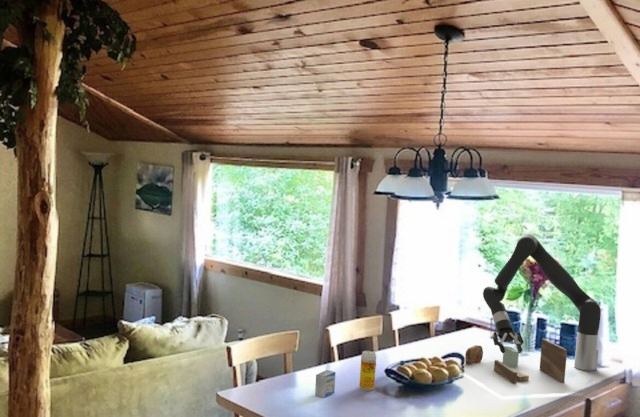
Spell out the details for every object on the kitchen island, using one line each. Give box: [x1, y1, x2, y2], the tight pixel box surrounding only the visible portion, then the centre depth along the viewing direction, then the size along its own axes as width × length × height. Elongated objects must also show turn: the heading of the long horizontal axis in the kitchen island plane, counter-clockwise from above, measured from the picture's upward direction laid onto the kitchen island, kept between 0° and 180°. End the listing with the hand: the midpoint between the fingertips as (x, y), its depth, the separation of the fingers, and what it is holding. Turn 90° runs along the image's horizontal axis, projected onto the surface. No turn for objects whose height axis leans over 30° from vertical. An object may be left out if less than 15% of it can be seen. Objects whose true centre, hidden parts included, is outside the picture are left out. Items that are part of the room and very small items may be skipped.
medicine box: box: [314, 369, 336, 399], centre depth 265 cm, size 8×4×9 cm, turn 148°
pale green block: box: [502, 345, 520, 368], centre depth 319 cm, size 3×9×8 cm, turn 12°
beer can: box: [359, 350, 377, 392], centre depth 274 cm, size 6×6×15 cm
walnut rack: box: [493, 338, 568, 384], centre depth 300 cm, size 24×18×16 cm
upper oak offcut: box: [510, 367, 530, 382], centre depth 298 cm, size 5×12×2 cm, turn 25°
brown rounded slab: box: [464, 344, 484, 366], centre depth 319 cm, size 15×3×8 cm, turn 143°
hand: (512, 352), depth 318 cm, fingers open, 8 cm apart
